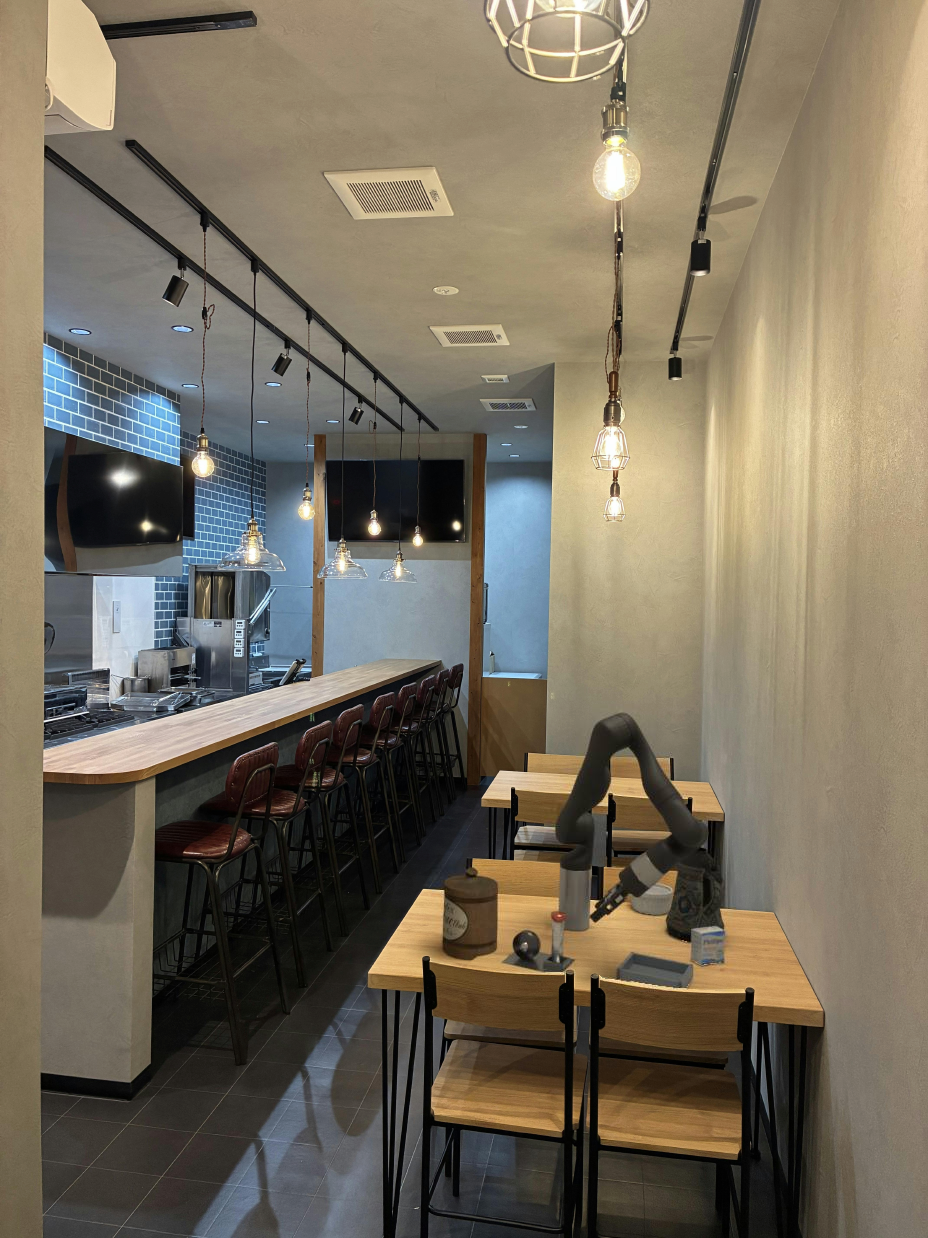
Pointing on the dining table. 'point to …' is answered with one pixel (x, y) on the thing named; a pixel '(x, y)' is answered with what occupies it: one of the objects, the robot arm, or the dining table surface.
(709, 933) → the medicine box
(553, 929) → the pin
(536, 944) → the pin socket base
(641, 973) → the tray
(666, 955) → the dining table surface
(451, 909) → the wooden container
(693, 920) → the beer stein
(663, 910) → the ramekin
